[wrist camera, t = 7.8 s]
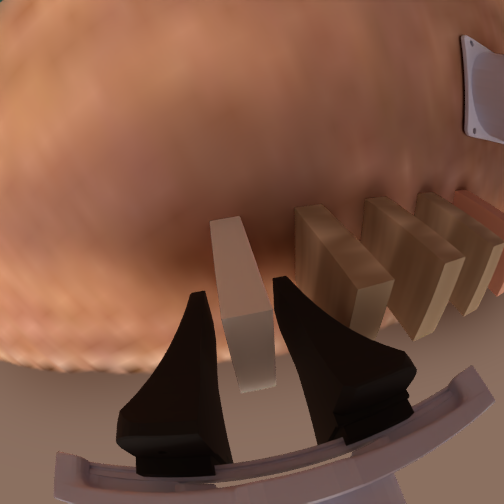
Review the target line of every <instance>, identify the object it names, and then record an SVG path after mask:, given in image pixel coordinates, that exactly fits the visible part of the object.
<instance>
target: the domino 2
mask: <svg viewBox="0 0 504 504" xmlns="http://www.w3.org/2000/svg"><path fill="white" fill-rule="evenodd" d="M360 243H361V244H362V245H363V246H364V247H365V248H366V249H367V250H368V251H369V252H370V253H371V254H372V255H373V256H374V257H375V258H376V259H377V261H378V262H379V263H380V264H381V265H382V266H383V267H384V268H385V269H386V270H387V272H388V273H389V274H390V275H391V276H392V277H393V278H394V279H395V280H394V283H393V287H392V290H391V294H390V297H389V300H388V304H387V306H388V308H389V309H390V310H391V312H392V313H393V315H394V316H395V317H396V319H397V320H398V321H399V323H400V324H401V325H402V327H403V328H404V330H405V331H406V332H407V334H408V335H409V337H410V338H411V340H412V341H415V340H417V339H420V338H422V337H424V336H426V335H428V334H430V333H432V332H434V330H435V328H436V326H437V324H438V322H439V320H440V318H441V316H442V313H443V311H444V309H445V307H446V305H447V303H448V301H449V298H450V296H451V294H452V291H453V289H454V286H455V284H456V281H457V279H458V276H459V274H460V271H461V268H462V266H463V263H464V260H465V257H466V256H464V255H463V254H462V253H461V252H460V251H459V250H457V249H456V248H455V247H454V246H453V245H451V244H450V243H449V242H448V241H446V240H445V239H444V238H443V237H441V236H440V235H439V234H438V233H436V232H435V231H434V230H432V229H431V228H430V227H429V226H427V225H426V224H425V223H423V222H422V221H420V220H419V219H418V218H416V217H415V216H414V215H412V214H411V213H409V212H408V211H407V210H405V209H404V208H402V207H401V206H399V205H398V204H396V203H395V202H394V201H392V200H391V199H389V198H388V197H386V196H385V197H375V198H366V199H365V205H364V215H363V225H362V233H361V241H360Z"/></svg>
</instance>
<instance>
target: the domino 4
mask: <svg viewBox="0 0 504 504" xmlns="http://www.w3.org/2000/svg"><path fill="white" fill-rule="evenodd" d="M453 205H454V206H456V207H458V208H459V209H461V210H462V211H464V212H465V213H467V214H468V215H470V216H471V217H473V218H474V219H475V220H477V221H478V222H480V223H481V224H482V225H484V226H485V227H487V228H488V229H489V230H491V231H492V232H493V233H495V234H496V235H497V236H499V237H500V238H501V239H502V240H504V213H503V212H501V211H500V210H498V209H497V208H495V207H494V206H492V205H490V204H489V203H487V202H486V201H484V200H482V199H481V198H479V197H478V196H476V195H474V194H473V193H471V192H469V191H467V190H455V196H454V201H453ZM488 288H489V289H490V290H491V291H492V292H493V293H494V294H495V295H496V296H499V295H500V294H502V293H503V292H504V248H503V251H502V253H501V256H500V259H499V261H498V264H497V266H496V269H495V271H494V274H493V276H492V278H491V281H490V283H489V285H488Z"/></svg>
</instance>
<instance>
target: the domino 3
mask: <svg viewBox="0 0 504 504" xmlns="http://www.w3.org/2000/svg"><path fill="white" fill-rule="evenodd" d="M414 216H415V217H416V218H418V219H419V220H420V221H422V222H423V223H425V224H426V225H427V226H429V227H430V228H431V229H432V230H434V231H435V232H436V233H438V234H439V235H440V236H441V237H443V238H444V239H445V240H446V241H448V242H449V243H450V244H451V245H453V246H454V247H455V248H456V249H457V250H459V251H460V252H461V253H462V254H463V255H464V256H466V257H465V260H464V263H463V266H462V268H461V271H460V274H459V276H458V279H457V281H456V284H455V286H454V289H453V291H452V294H451V296H450V298H449V301H450V302H451V303H452V304H453V305H454V306H455V308H457V310H458V311H459V312H460V313H461V314H462V316H465V315H467V314H469V313H471V312H472V311H474V310H476V309H477V308H478V306H479V304H480V302H481V300H482V298H483V296H484V293H485V291H486V289H487V287H488V285H489V283H490V281H491V278H492V276H493V274H494V271H495V269H496V266H497V264H498V261H499V259H500V256H501V253H502V251H503V248H504V240H502V239H501V238H500V237H499V236H497V235H496V234H495V233H493V232H492V231H491V230H489V229H488V228H487V227H485V226H484V225H482V224H481V223H480V222H478V221H477V220H475V219H474V218H473V217H471V216H470V215H468V214H467V213H465V212H464V211H462V210H461V209H459V208H458V207H456V206H454V205H453V204H451V203H450V202H448V201H447V200H445V199H443V198H442V197H440V196H438V195H437V194H435V193H433V192H428V193H418V196H417V202H416V208H415V214H414Z"/></svg>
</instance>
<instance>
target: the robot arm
mask: <svg viewBox="0 0 504 504" xmlns="http://www.w3.org/2000/svg"><path fill="white" fill-rule="evenodd" d="M461 43H462V52H463V62H464V76H465V124H464V131H465V134H466V135H467V136H470V137H475V138H480V139H485V140H489V141H493V142H497V143H501V144H504V55H503V54H496V53H493V52H492V51H490V50H489V49H488V48H486V47H485V46H483V45H481V44H480V43H478V42H477V41H475V40H474V39H472V38H470V37H469V36H467V35H462V36H461ZM273 294H274V311H275V315H276V318H277V322H278V325H279V329H280V331H281V333H282V336H283V338H284V341H285V343H286V345H287V348H288V350H289V352H290V355H291V357H292V359H293V362H294V364H295V366H296V369H297V372H298V374H299V377H300V381H301V384H302V388H303V391H304V395H305V398H306V402H307V405H308V409H309V412H310V416H311V420H312V424H313V428H314V432H315V436H316V440H317V444H318V445H317V446H313V447H310V448H307V449H303V450H299V451H295V452H291V453H287V454H283V455H278V456H274V457H269V458H264V459H258V460H252V461H246V462H240V463H233V460H232V455H231V451H230V447H229V442H228V438H227V433H226V428H225V424H224V419H223V413H222V407H221V402H220V395H219V389H218V376H217V352H216V337H215V330H214V323H213V319H212V315H211V312H210V308H209V304H208V300H207V297H206V293H205V291H200V292H194V293H191V294H190V297H189V300H188V304H187V307H186V310H185V312H184V315H183V318H182V320H181V323H180V325H179V327H178V330H177V332H176V334H175V336H174V338H173V340H172V342H171V344H170V346H169V348H168V350H167V352H166V353H165V355H164V357H163V359H162V360H161V362H160V363H159V365H158V366H157V368H156V369H155V371H154V372H153V374H152V375H151V377H150V378H149V379H148V380H147V382H146V383H145V384H144V385H143V386H142V388H141V389H140V390H139V391H138V393H137V394H136V395H135V396H134V397H133V398H132V399H131V400H130V401H129V402H128V403H127V404H126V405H125V406H124V407H123V408H122V409H121V410H120V412H119V417H118V422H117V433H116V442H117V444H118V445H119V446H120V447H121V448H122V449H124V450H125V451H127V452H128V453H130V454H132V455H133V456H135V457H136V467H129V466H118V465H109V464H101V463H94V462H89V461H88V460H86V459H84V458H82V457H80V456H77V455H73V454H68V453H63V452H59V451H58V452H57V453H56V465H55V477H54V498H55V499H58V500H61V501H64V502H67V503H70V504H406V501H405V499H404V496H403V494H402V492H401V489H400V487H399V484H398V482H397V479H396V477H395V475H394V472H396V471H398V470H400V469H402V468H404V467H406V466H408V465H409V464H411V463H413V462H415V461H417V460H418V459H420V458H422V457H423V456H425V455H427V454H428V453H430V452H431V451H433V450H434V449H436V448H437V447H439V446H440V445H442V444H443V443H445V442H446V441H448V440H449V439H450V438H452V437H453V436H455V435H456V434H458V433H459V432H460V431H462V430H463V429H464V428H465V427H467V426H468V425H469V424H470V423H471V422H473V421H474V420H475V419H477V418H478V417H479V416H480V415H481V414H482V413H483V412H485V411H486V410H487V409H488V408H489V407H490V406H491V405H492V404H494V403H495V399H494V397H493V396H492V394H491V393H490V391H489V390H488V388H487V386H486V385H485V383H484V382H483V380H482V379H481V377H480V376H479V374H478V373H477V371H476V370H475V369H474V367H473V366H472V365H471V366H470V367H468V368H467V369H465V370H464V371H462V372H461V373H459V374H458V375H457V376H456V377H454V378H453V379H452V380H451V382H450V383H449V385H448V386H447V387H445V388H444V389H442V390H440V391H439V392H437V393H435V394H434V395H432V396H430V397H429V398H427V399H425V400H423V401H421V402H420V403H418V404H416V405H414V406H412V407H411V405H410V403H409V401H408V398H409V394H408V392H407V390H406V389H407V387H408V386H409V385H410V383H411V382H412V380H413V379H414V377H415V375H416V372H417V369H416V367H415V366H414V364H413V362H412V361H411V359H410V358H409V357H408V355H407V354H406V353H405V352H404V351H401V350H398V349H395V348H392V347H389V346H386V345H383V344H381V343H378V342H376V341H374V340H371V339H369V338H367V337H365V336H363V335H361V334H359V333H357V332H355V331H353V330H351V329H350V328H348V327H346V326H345V325H343V324H342V323H340V322H339V321H337V320H336V319H334V318H333V317H331V316H330V315H329V314H327V313H326V312H325V311H323V310H322V309H321V308H320V307H318V306H317V305H316V304H315V303H314V302H313V301H312V300H310V299H309V298H308V297H307V296H306V295H305V294H304V293H303V292H302V291H301V290H300V289H299V288H298V287H297V286H296V285H295V284H294V283H293V282H292V281H291V280H290V279H289V278H288V277H286V276H283V277H277V278H273ZM354 450H355V451H354ZM352 451H353V452H352ZM349 452H352V456H351V457H350V458H345V459H341V460H338V461H335V462H331V463H328V464H325V465H322V466H319V467H316V468H312V469H309V470H305V471H301V472H297V473H293V474H289V475H285V476H280V477H275V478H270V479H265V480H260V481H255V482H250V483H246V484H242V485H236V486H230V487H223V488H217V487H216V485H214V484H204V483H216V482H217V483H218V482H227V481H236V480H243V479H250V478H256V477H262V476H267V475H272V474H277V473H282V472H286V471H290V470H294V469H298V468H302V467H306V466H309V465H313V464H316V463H320V462H323V461H326V460H329V459H332V458H335V457H338V456H341V455H344V454H346V453H349Z"/></svg>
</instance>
